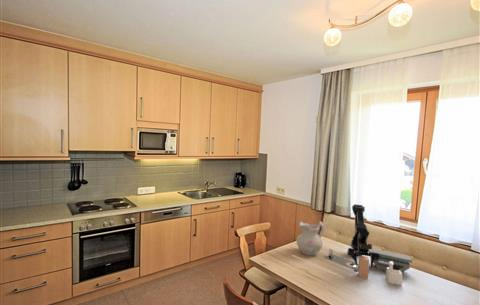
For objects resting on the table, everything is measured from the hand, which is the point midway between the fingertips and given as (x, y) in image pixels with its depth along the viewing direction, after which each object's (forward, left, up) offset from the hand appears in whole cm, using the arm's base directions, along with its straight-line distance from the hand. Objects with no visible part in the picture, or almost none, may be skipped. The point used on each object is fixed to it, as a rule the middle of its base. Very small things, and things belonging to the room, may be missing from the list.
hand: (364, 266), depth 157 cm
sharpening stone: (-26, +7, -7) cm, 28 cm away
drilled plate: (-9, -17, -7) cm, 21 cm away
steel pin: (-9, -27, -6) cm, 29 cm away
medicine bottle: (-10, +14, -7) cm, 19 cm away
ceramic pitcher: (-4, -42, -7) cm, 42 cm away
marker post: (-1, -1, -7) cm, 7 cm away
